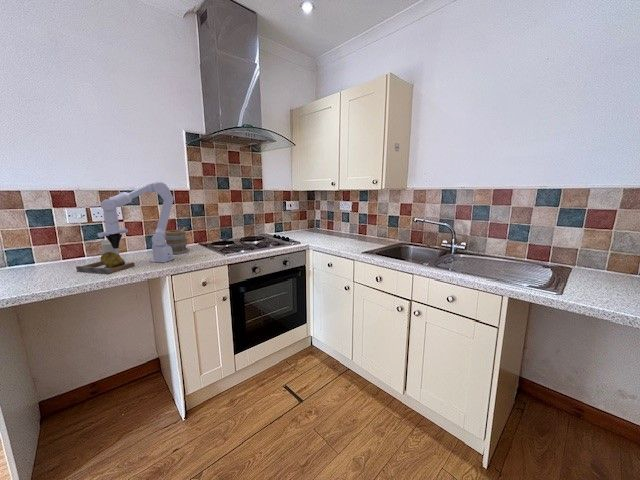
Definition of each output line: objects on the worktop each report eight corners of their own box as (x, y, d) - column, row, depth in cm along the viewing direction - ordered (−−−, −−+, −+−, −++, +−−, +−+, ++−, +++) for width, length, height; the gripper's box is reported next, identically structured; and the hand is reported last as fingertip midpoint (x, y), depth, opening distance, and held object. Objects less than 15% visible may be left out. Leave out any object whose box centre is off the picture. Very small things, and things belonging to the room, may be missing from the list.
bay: (134, 266, 140) (134, 261, 140) (109, 274, 127) (108, 269, 127) (104, 264, 145) (103, 259, 144) (76, 271, 132) (75, 266, 131)
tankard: (179, 255, 163) (177, 231, 160) (161, 254, 164) (158, 230, 162) (198, 248, 182) (196, 226, 179) (181, 247, 184) (179, 226, 181)
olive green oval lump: (106, 272, 130) (104, 256, 129) (100, 267, 138) (97, 252, 137) (127, 268, 137) (124, 253, 135) (119, 263, 145) (117, 249, 143)
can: (111, 262, 147) (107, 241, 145) (100, 262, 149) (96, 241, 146) (123, 259, 154) (120, 239, 152) (112, 258, 156) (109, 238, 154)
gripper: (118, 220, 145) (122, 245, 148) (91, 224, 132) (95, 250, 134) (129, 221, 144) (133, 245, 146) (102, 224, 130) (106, 251, 133)
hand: (115, 248), depth 140 cm, fingers closed
